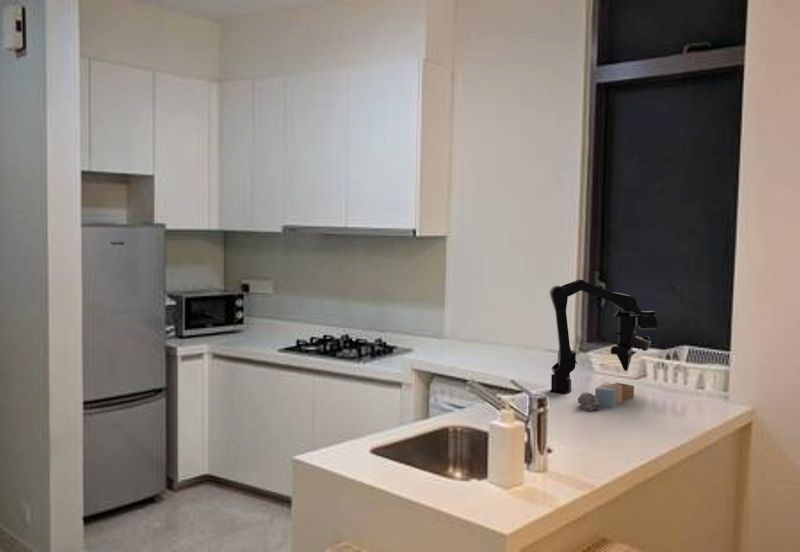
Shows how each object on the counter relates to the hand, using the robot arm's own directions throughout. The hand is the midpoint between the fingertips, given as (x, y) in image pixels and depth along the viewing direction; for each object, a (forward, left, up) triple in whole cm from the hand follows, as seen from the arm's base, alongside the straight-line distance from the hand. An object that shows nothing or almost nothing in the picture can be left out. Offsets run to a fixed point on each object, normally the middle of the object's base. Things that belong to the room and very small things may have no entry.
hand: (625, 370), depth 267 cm
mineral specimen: (-4, -30, -9) cm, 31 cm away
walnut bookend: (0, -9, -8) cm, 13 cm away
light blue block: (0, -23, -8) cm, 25 cm away
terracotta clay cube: (0, -17, -8) cm, 19 cm away
